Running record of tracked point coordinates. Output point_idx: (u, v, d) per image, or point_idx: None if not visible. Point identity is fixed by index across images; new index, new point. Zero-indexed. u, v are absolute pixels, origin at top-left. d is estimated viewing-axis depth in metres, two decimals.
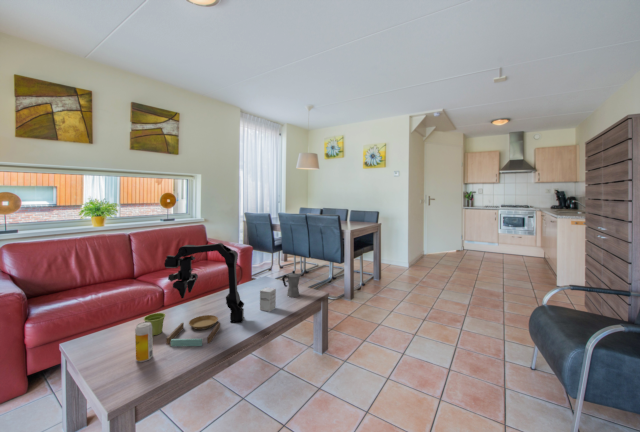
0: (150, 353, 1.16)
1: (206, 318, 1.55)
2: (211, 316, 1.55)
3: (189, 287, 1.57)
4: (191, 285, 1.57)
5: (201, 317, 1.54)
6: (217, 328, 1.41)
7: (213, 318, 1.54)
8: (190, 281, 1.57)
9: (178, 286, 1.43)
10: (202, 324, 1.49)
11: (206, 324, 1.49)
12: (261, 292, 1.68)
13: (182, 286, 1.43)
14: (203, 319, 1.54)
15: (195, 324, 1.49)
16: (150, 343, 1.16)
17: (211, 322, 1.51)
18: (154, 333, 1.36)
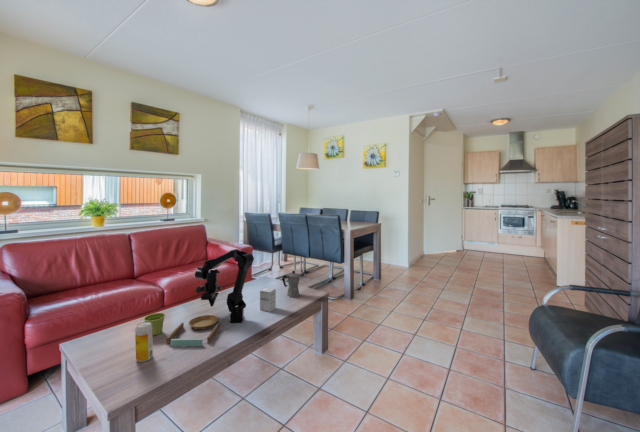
0: (150, 353, 1.16)
1: (206, 318, 1.55)
2: (211, 316, 1.55)
3: None
4: None
5: (201, 317, 1.54)
6: (217, 328, 1.41)
7: (213, 318, 1.54)
8: None
9: (206, 298, 1.52)
10: (202, 324, 1.49)
11: (206, 324, 1.49)
12: (261, 292, 1.68)
13: (210, 298, 1.52)
14: (203, 319, 1.54)
15: (195, 324, 1.49)
16: (150, 343, 1.16)
17: (211, 322, 1.51)
18: (154, 333, 1.36)
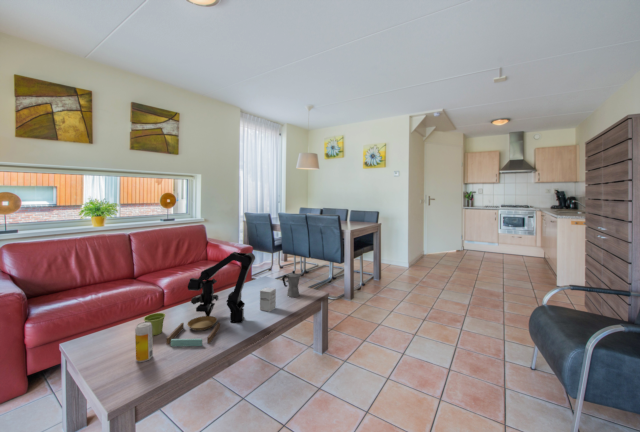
0: (150, 353, 1.16)
1: (205, 319, 1.53)
2: (210, 317, 1.54)
3: None
4: None
5: (200, 318, 1.53)
6: (217, 328, 1.41)
7: (212, 318, 1.53)
8: None
9: (201, 310, 1.46)
10: (200, 325, 1.47)
11: (205, 325, 1.47)
12: (261, 292, 1.68)
13: (205, 310, 1.46)
14: (202, 320, 1.52)
15: (194, 325, 1.47)
16: (150, 343, 1.16)
17: (210, 323, 1.50)
18: (154, 333, 1.36)
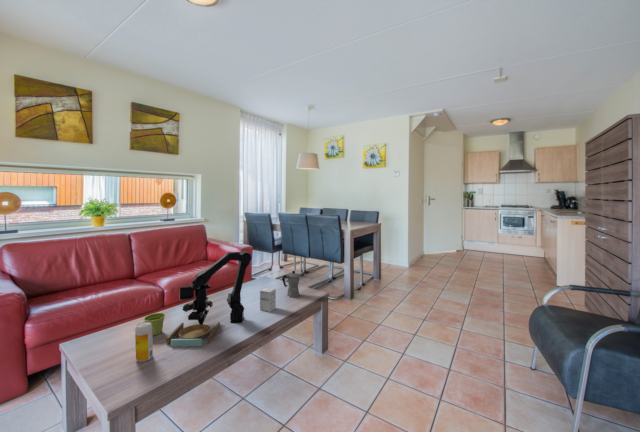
0: (150, 353, 1.16)
1: (198, 327, 1.43)
2: (204, 325, 1.44)
3: (201, 320, 1.45)
4: None
5: (193, 326, 1.43)
6: (217, 328, 1.41)
7: (206, 327, 1.43)
8: None
9: (194, 318, 1.36)
10: (193, 334, 1.37)
11: (198, 334, 1.37)
12: (261, 292, 1.68)
13: (198, 318, 1.36)
14: (195, 329, 1.42)
15: (186, 334, 1.37)
16: (150, 343, 1.16)
17: (203, 332, 1.40)
18: (154, 333, 1.36)
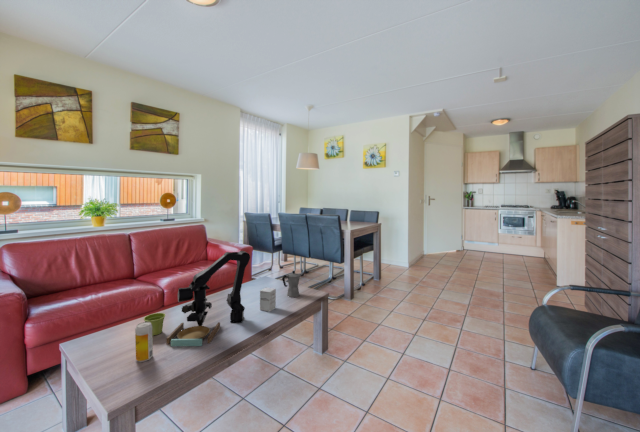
0: (150, 353, 1.16)
1: (197, 329, 1.42)
2: (203, 327, 1.42)
3: (200, 321, 1.44)
4: (202, 319, 1.44)
5: (192, 328, 1.41)
6: (217, 328, 1.41)
7: (205, 329, 1.41)
8: None
9: (193, 320, 1.34)
10: (192, 336, 1.36)
11: (197, 336, 1.35)
12: (261, 292, 1.68)
13: (197, 320, 1.34)
14: (194, 330, 1.41)
15: (184, 336, 1.35)
16: (150, 343, 1.16)
17: (202, 334, 1.38)
18: (154, 333, 1.36)
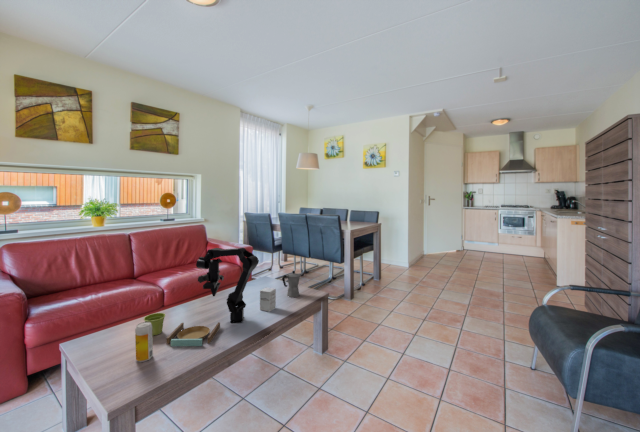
0: (150, 353, 1.16)
1: (197, 329, 1.42)
2: (203, 327, 1.42)
3: None
4: None
5: (192, 328, 1.41)
6: (217, 328, 1.41)
7: (205, 329, 1.41)
8: None
9: (208, 287, 1.49)
10: (192, 336, 1.36)
11: (197, 336, 1.35)
12: (261, 292, 1.68)
13: (212, 287, 1.50)
14: (194, 330, 1.41)
15: (184, 336, 1.35)
16: (150, 343, 1.16)
17: (202, 334, 1.38)
18: (154, 333, 1.36)
